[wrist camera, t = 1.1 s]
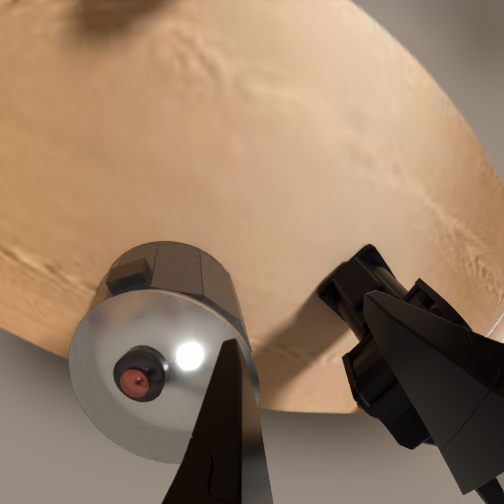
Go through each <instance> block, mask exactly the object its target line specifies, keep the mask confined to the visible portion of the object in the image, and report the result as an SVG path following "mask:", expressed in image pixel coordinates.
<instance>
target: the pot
mask: <svg viewBox="0 0 504 504" xmlns="http://www.w3.org/2000/svg"><path fill="white" fill-rule="evenodd" d="M149 288H151V289H165V290H170V291H175V292H179V293H182V294H185V295H188V296H191V297H193V298H195V299H197V300H199V301H201V302H203V303H205V304H207V305H208V306H210V307H211V308H213V309H215V310H216V311H217V312H218V313H220V314H221V315H222V316H223V317H225V318H226V319H227V320H228V321H229V322H230V323H231V324H232V325H233V326H234V327H235V328H236V330H237V331H238V332H239V334H240V335H241V336H242V338H243V339H244V341H245V343H246V344H247V346H248V348H249V349H250V352H252V350H251V346H250V343H249V339H248V335H247V332H246V328H245V324H244V320H243V316H242V313H241V309H240V305H239V301H238V298H237V295H236V292H235V289H234V286H233V283H232V280H231V277H230V274H229V273H228V272H227V271H226V270H225V269H224V267H223V266H222V265H221V264H220V263H219V262H218V261H217V260H216V259H215V258H213V257H212V256H211V255H209V254H208V253H206V252H204V251H202V250H200V249H199V248H196V247H193V246H191V245H188V244H183V243H179V242H171V241H159V242H151V243H146V244H143V245H140V246H137V247H135V248H132V249H131V250H129V251H127V252H125V253H124V254H122V255H121V256H120V257H119V258H118V259H117V260H116V261H115V262H114V263H113V265H112V266H111V268H110V269H109V271H108V273H107V274H106V275H105V277H104V278H103V279H102V281H101V283H100V286H99V288H98V291H97V293H96V296H95V298H94V301H93V303H92V306H91V308H90V311H91V310H92V309H93V308H95V307H96V306H97V305H98V304H100V303H102V302H104V301H105V300H107V299H109V298H112V297H114V296H116V295H119V294H122V293H124V292H128V291H132V290H137V289H149ZM90 311H89V312H90Z"/></svg>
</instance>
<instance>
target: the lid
mask: <svg viewBox="0 0 504 504" xmlns="http://www.w3.org/2000/svg"><path fill="white" fill-rule="evenodd" d="M232 338H236V339H237V340H238V343H239V345H240V348H241V350H242V353H243V355H244V358H245V362H246V365H247V369H248V372H249V376H250V379H251V383H252V386H253V390H254V393H255V397H256V400H257V405H258V406H259V397H260V388H259V379H258V374H257V370H256V366H255V362H254V359H253V357H252V354H251V352H250V349H249V348H248V346H247V344H246V343H245V341H244V339H243V338H242V336H241V335H240V334H239V332H238V331H237V330H236V328H235V327H234V326H233V325H232V324H231V323H230V322H229V321H228V320H227V319H226V318H225V317H223V316H222V315H221V314H220V313H218V312H217V311H216V310H215V309H213V308H211V307H210V306H208V305H207V304H205V303H203V302H201V301H199V300H197V299H195V298H193V297H191V296H188V295H185V294H182V293H179V292H175V291H170V290H165V289H151V288H149V289H137V290H132V291H128V292H124V293H122V294H119V295H116V296H114V297H112V298H109V299H107V300H105V301H104V302H102V303H100V304H98V305H97V306H96V307H95V308H93V309H92V310H91V311H90V312H89V313H88V314H87V315H86V316H85V317H84V318H83V319H82V321H81V322H80V324H79V326H78V327H77V329H76V331H75V334H74V336H73V338H72V342H71V346H70V352H69V372H70V378H71V382H72V386H73V389H74V392H75V394H76V397H77V399H78V401H79V403H80V405H81V407H82V409H83V410H84V412H85V413H86V415H87V416H88V417H89V419H90V420H91V421H92V422H93V424H94V425H95V426H96V427H97V428H98V429H99V430H100V431H101V432H102V433H103V434H104V435H105V436H106V437H108V438H109V439H110V440H112V441H113V442H114V443H116V444H117V445H119V446H120V447H122V448H124V449H125V450H127V451H129V452H131V453H134V454H136V455H138V456H141V457H144V458H146V459H150V460H154V461H158V462H164V463H172V464H181V462H182V460H183V457H184V454H185V452H186V449H187V446H188V443H189V440H190V438H191V437H192V436H191V435H192V432H193V429H194V426H195V423H196V420H197V417H198V414H199V411H200V408H201V405H202V402H203V399H204V396H205V393H206V390H207V387H208V384H209V381H210V378H211V375H212V372H213V369H214V366H215V363H216V360H217V357H218V354H219V351H220V348H221V345H222V343H223V341H225V340H229V339H232Z"/></svg>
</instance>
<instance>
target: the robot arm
mask: <svg viewBox="0 0 504 504" xmlns="http://www.w3.org/2000/svg"><path fill="white" fill-rule="evenodd" d="M370 249H371V250H370ZM369 250H370V251H369ZM322 292H324V293H323V294H322ZM317 294H318V296H319V297H320V298H321V299H322V300H323V301H324V302H325V303H326V304H327V305H328V306H329V307H330V308H331V309H332V310H333V311H335V312H336V313H337V314H338V315H339V316H340V317H341V318H342V319H343V320H344V321H345V322H346V323H347V324H348V325H349V326H350V328H351V329H352V331H353V333H354V334H355V336H356V337H357V339H358V340H359V343H358V344H357V345H356V346H355V347H354V348H353V349H352V350H351V351H350V352H349V353H346V354H345V355H344V356H343V357H342V360H343V363H344V367H345V371H346V374H347V378H348V381H349V384H350V388H351V391H352V395H353V398H354V400H355V401H356V402H357V405H358V407H359V408H361V409H363V410H364V411H365V412H366V413H368V414H369V415H370V416H372V417H374V418H377V419H379V420H380V421H381V422H382V423H383V424H384V425H385V426H386V428H387V429H388V430H389V431H390V433H391V434H392V435H393V437H394V438H395V440H396V441H397V442H398V444H400V445H401V446H404V447H406V448H409V449H414V448H416V447H417V446H419V445H420V444H422V443H424V444H429V445H434V446H437V447H438V448H439V450H440V452H441V454H442V456H443V458H444V460H445V461H446V463H447V465H448V467H449V469H450V471H451V473H452V475H453V477H454V478H455V480H456V482H457V484H458V486H459V488H460V490H461V492H462V494H463V495H465V494H467V493H469V492H470V491H472V490H474V489H475V491H476V492H477V493H478V494H479V496H480V497H481V498H482V499H483V501H484V502H485V503H486V504H504V343H501V342H498V341H495V340H492V339H489V338H487V337H485V336H482V335H480V334H477V333H475V332H473V331H472V329H471V328H470V327H469V325H468V324H467V323H466V322H465V320H464V319H463V318H462V317H461V316H460V315H459V314H458V313H457V312H456V310H455V309H454V308H453V307H452V306H451V305H450V304H449V303H448V302H446V301H445V300H444V299H443V298H442V297H441V296H440V295H439V294H438V293H436V292H435V291H434V290H433V289H432V288H431V287H429V286H428V285H427V284H426V283H425V282H424V281H422V280H421V279H420V278H419V279H418V280H417V281H416V282H415V285H414V286H413V287H412V288H411V289H410V291H409V292H408V291H407V290H406V289H405V288H404V287H403V286H402V285H401V284H400V283H399V282H398V281H397V279H396V278H395V276H394V275H393V273H392V272H391V270H390V268H389V267H388V265H387V264H386V262H385V261H384V259H383V258H382V256H381V255H380V253H379V252H378V250H377V249H376V248H375V247H374V246H373V245H372V244H368V245H367V246H366V247H365V248H363V249H362V250H361V251H360V252H359V253H358V254H357V255H356V256H355V257H354V258H353V259H352V260H351V261H349V262H348V263H347V264H346V265H345V266H344V267H343V268H342V269H341V270H340V271H338V272H337V273H336V274H335V275H334V276H333V277H332V278H331V279H329V280H328V281H327V282H326V283H325V284H324V285H323V286H322V287H320V288H319V289H318V291H317ZM191 436H192V437H191V438H190V440H189V443H188V446H187V449H186V452H185V454H184V457H183V460H182V462H181V465H180V467H179V469H178V471H177V474H176V476H175V478H174V480H173V482H172V484H171V486H170V488H169V490H168V492H167V494H166V496H165V498H164V500H163V502H162V503H161V504H273V498H272V493H271V487H270V480H269V475H268V468H267V462H266V457H265V450H264V443H263V437H262V430H261V425H260V418H259V411H258V405H257V400H256V397H255V393H254V390H253V386H252V383H251V379H250V376H249V372H248V369H247V365H246V362H245V358H244V355H243V353H242V350H241V348H240V345H239V343H238V340H237V339H236V338H232V339H229V340H225V341H223V343H222V345H221V348H220V351H219V354H218V357H217V360H216V363H215V366H214V369H213V372H212V375H211V378H210V381H209V384H208V387H207V390H206V393H205V396H204V399H203V402H202V405H201V408H200V411H199V414H198V417H197V420H196V423H195V426H194V429H193V432H192V435H191Z"/></svg>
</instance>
